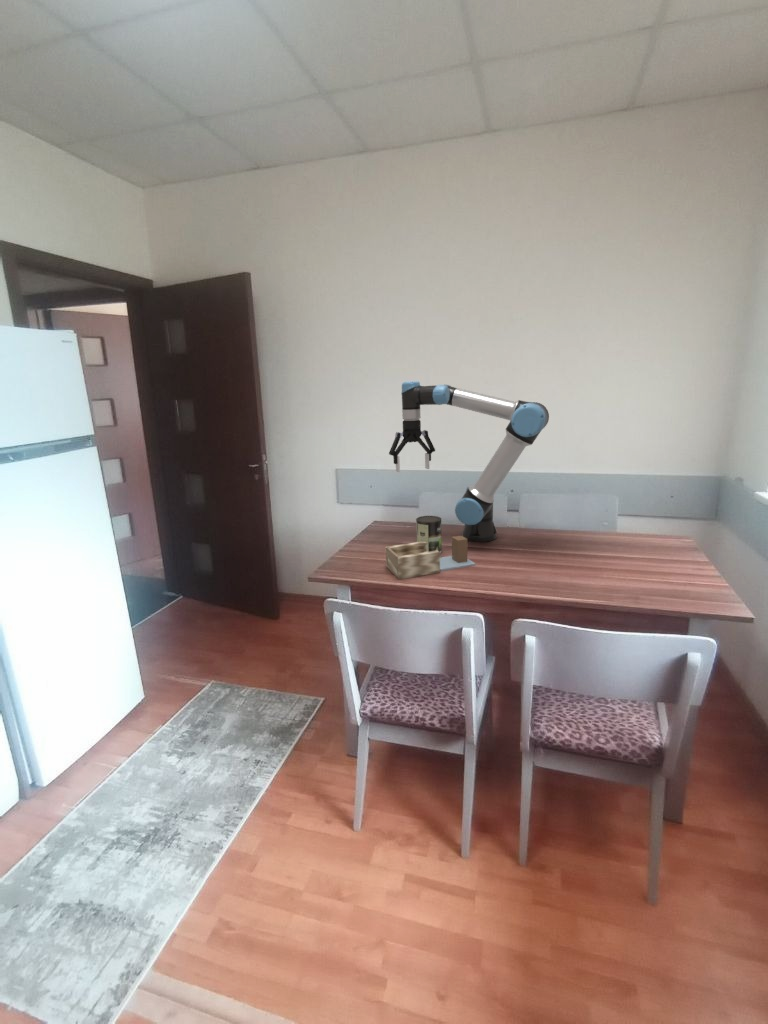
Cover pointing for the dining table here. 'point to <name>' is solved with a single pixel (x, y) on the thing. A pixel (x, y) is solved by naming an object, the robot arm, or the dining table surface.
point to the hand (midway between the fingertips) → (412, 470)
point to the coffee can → (429, 532)
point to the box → (412, 560)
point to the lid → (456, 555)
